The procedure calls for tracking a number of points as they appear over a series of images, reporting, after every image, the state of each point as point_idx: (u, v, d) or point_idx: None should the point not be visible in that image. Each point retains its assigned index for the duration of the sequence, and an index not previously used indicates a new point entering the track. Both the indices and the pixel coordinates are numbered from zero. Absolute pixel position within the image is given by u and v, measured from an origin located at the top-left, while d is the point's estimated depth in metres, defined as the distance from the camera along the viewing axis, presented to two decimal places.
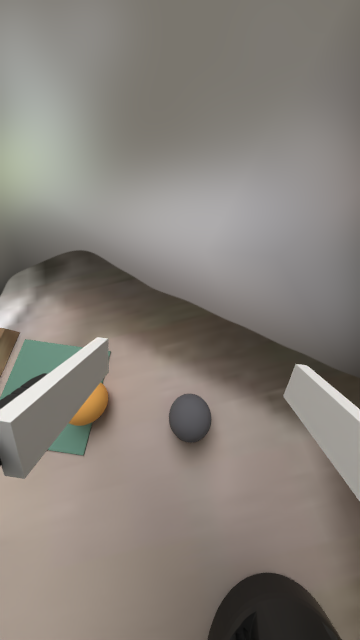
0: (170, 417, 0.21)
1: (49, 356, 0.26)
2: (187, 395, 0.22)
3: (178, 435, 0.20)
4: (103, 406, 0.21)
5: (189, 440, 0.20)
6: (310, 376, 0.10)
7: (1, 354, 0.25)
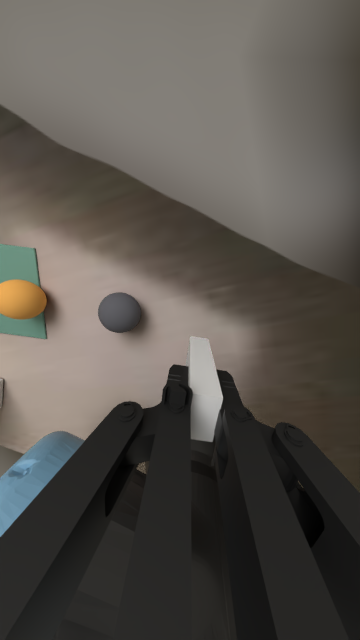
0: None
1: None
2: (113, 293, 0.21)
3: (106, 327, 0.22)
4: (37, 304, 0.23)
5: (115, 331, 0.22)
6: (201, 344, 0.12)
7: None
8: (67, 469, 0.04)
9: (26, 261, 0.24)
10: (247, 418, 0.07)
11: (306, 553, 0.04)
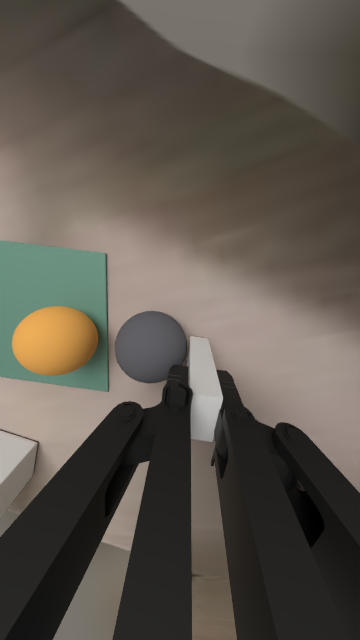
0: None
1: (2, 266, 0.14)
2: None
3: None
4: (61, 359, 0.11)
5: None
6: (201, 344, 0.12)
7: None
8: (67, 469, 0.04)
9: (90, 274, 0.14)
10: (247, 418, 0.07)
11: (306, 553, 0.04)
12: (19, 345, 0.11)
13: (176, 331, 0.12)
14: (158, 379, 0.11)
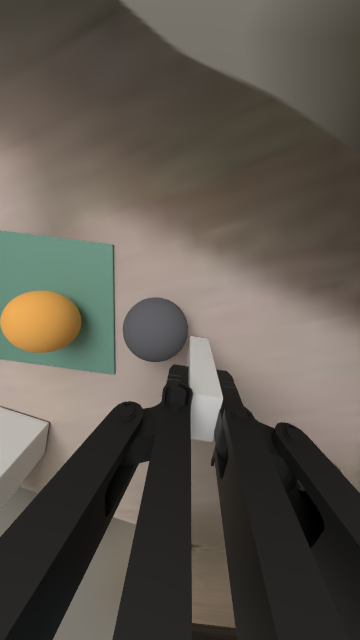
0: None
1: (16, 256, 0.16)
2: (165, 299, 0.14)
3: None
4: (9, 336, 0.12)
5: None
6: (201, 344, 0.12)
7: None
8: (67, 469, 0.04)
9: (98, 264, 0.15)
10: (247, 418, 0.07)
11: (306, 553, 0.04)
12: None
13: (178, 315, 0.13)
14: (162, 357, 0.13)
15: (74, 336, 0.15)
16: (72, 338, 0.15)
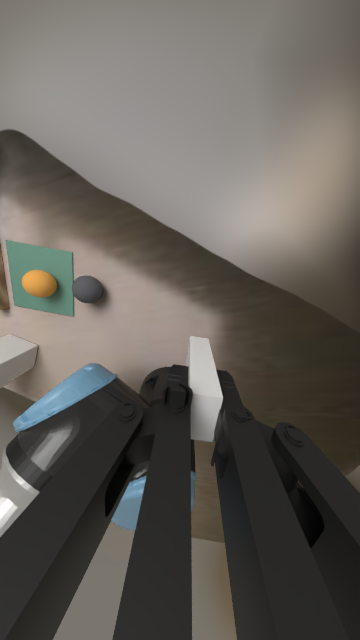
0: None
1: (29, 254, 0.35)
2: (92, 277, 0.34)
3: None
4: (25, 286, 0.31)
5: None
6: (201, 344, 0.12)
7: None
8: (67, 469, 0.04)
9: (66, 260, 0.35)
10: (247, 418, 0.07)
11: (306, 553, 0.04)
12: None
13: (94, 282, 0.32)
14: (86, 298, 0.32)
15: (52, 291, 0.34)
16: (51, 292, 0.34)
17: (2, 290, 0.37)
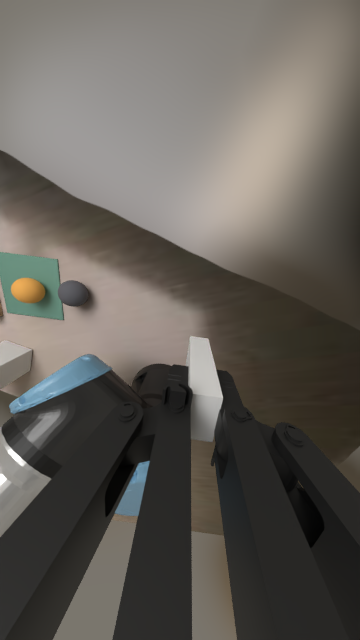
0: None
1: (17, 264, 0.37)
2: (77, 281, 0.35)
3: None
4: (14, 293, 0.34)
5: None
6: (201, 344, 0.12)
7: None
8: (67, 469, 0.04)
9: (52, 267, 0.37)
10: (247, 418, 0.07)
11: (306, 553, 0.04)
12: None
13: (78, 286, 0.34)
14: (71, 302, 0.34)
15: (41, 297, 0.36)
16: (40, 297, 0.36)
17: None
